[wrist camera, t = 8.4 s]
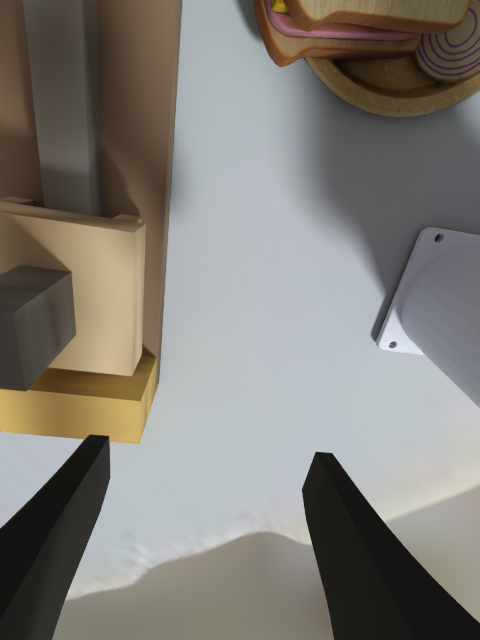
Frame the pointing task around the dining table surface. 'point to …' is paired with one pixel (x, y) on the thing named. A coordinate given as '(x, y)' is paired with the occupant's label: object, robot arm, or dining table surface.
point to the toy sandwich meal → (380, 49)
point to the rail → (124, 127)
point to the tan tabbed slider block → (68, 292)
